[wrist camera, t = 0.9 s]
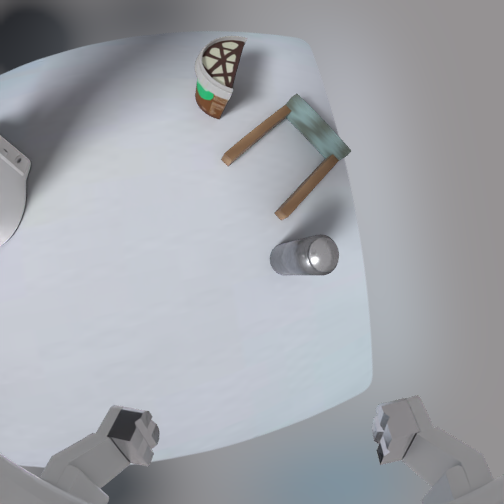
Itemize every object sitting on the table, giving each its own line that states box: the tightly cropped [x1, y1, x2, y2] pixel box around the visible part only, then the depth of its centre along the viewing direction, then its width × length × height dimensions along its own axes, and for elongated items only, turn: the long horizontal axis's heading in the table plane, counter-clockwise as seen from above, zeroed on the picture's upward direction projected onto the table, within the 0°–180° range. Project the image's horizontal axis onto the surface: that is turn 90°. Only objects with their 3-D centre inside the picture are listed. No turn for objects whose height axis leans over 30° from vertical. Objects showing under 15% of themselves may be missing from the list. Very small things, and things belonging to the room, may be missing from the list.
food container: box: [195, 36, 247, 119], centre depth 37 cm, size 12×6×10 cm, turn 171°
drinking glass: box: [270, 235, 339, 275], centre depth 39 cm, size 5×5×12 cm
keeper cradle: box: [221, 94, 351, 220], centre depth 43 cm, size 13×16×5 cm
